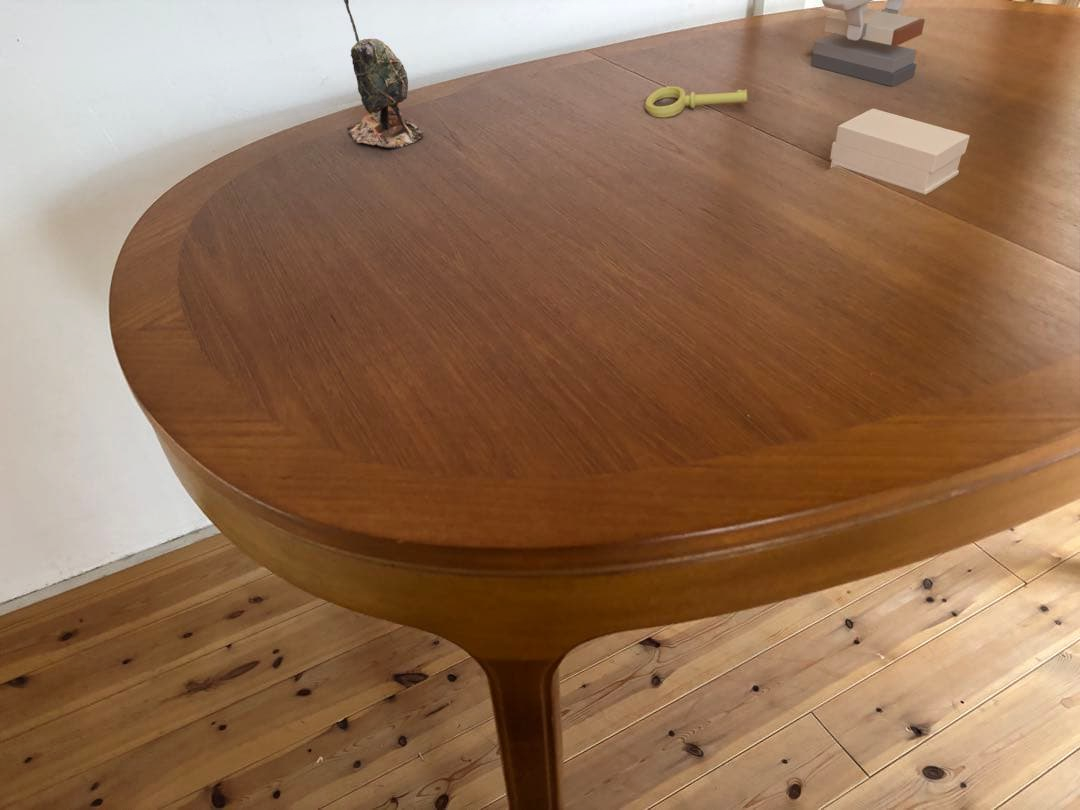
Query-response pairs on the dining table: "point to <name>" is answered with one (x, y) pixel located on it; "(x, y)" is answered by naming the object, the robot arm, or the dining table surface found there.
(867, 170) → the beige box
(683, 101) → the key
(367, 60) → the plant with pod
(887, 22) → the white book
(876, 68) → the grey stack
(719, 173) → the dining table surface
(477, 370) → the dining table surface
